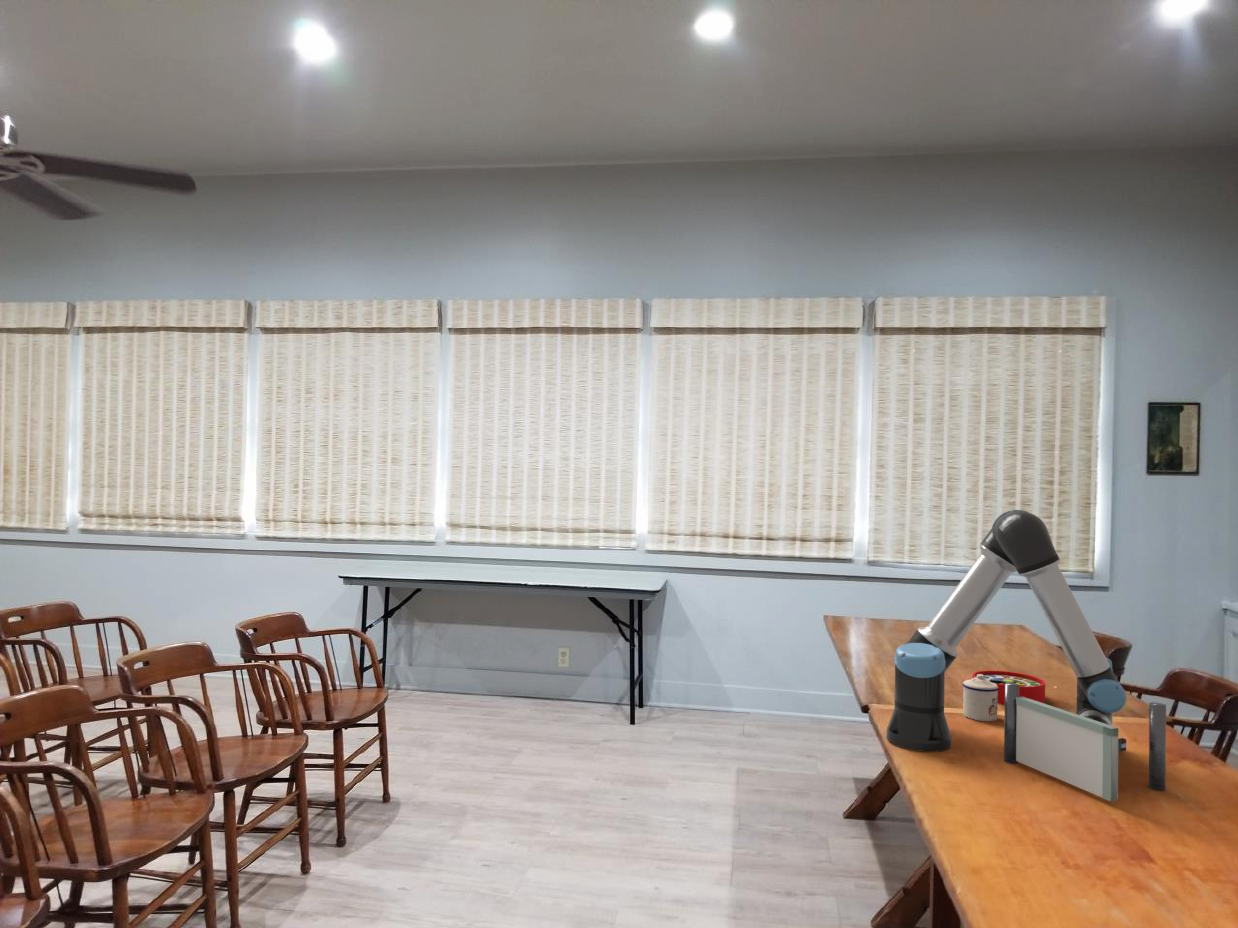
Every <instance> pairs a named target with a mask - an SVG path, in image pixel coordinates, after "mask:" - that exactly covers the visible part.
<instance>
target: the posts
mask: <svg viewBox="0 0 1238 928" xmlns="http://www.w3.org/2000/svg"><path fill="white" fill-rule="evenodd" d="M1016 697H1019V684H1016V683H1010V682H1007V683H1005V704H1004V721H1003V723H1004V724H1003V725H1004V729H1003V732H1004V733H1003V734H1004V735H1003V741H1004V742H1003V761H1004V762H1005V763H1008V764H1012V765H1013V764H1015V765H1017V764H1019V762H1018V761H1016V724H1017V704H1016ZM1148 708H1149V709H1148V710H1149V715H1148V716H1149V718H1148V719H1149V720H1148V722H1149V723H1148V724H1149V725H1148V738H1149V739H1148V788H1149V789H1151V790H1154V791H1159V792H1165V791H1166V783H1167V782H1166V781H1167V780H1166V777H1167V776H1166V775H1167V774H1166V772H1167V771H1166V769H1167V704H1166V703H1162V702H1158V701H1157V702H1156V701H1155V702H1154V701H1152V702H1151V701H1150V702H1149V707H1148Z"/></svg>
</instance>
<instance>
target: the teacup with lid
mask: <svg viewBox="0 0 1238 928" xmlns="http://www.w3.org/2000/svg"><path fill="white" fill-rule="evenodd" d="M962 686H963V690H962V691H963V697H962V698H963V699H962V701H963V706H962V707H963V708H962V714H963V716H964V717H965V718H967V717H968V719H970V720H973V719H974V721H978V722H979V721H980V722H993V721H996V720H997V719H998V703H997V694H998V689H999V688H998V686H997V685H996V684H995V683H992V682H990V681H989V680H987V679H985V678H984V675H982V674H977V677H976V678H972V677H971V679H967V680H964V681H963V682H962Z"/></svg>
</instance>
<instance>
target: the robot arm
mask: <svg viewBox="0 0 1238 928" xmlns="http://www.w3.org/2000/svg"><path fill="white" fill-rule="evenodd" d="M979 547H980V555H978V557H977V558H976V560H975V561H974V562H973V564H972V565H971V567H970V568H969V570H967V572H966V573H965V574H964V575H963V577H962V578H961V580H960V581H959V583H958V584H957V585H956V587H955V588H954V589H953V591H952V592H951V593H950V595H949V596H948V597H947V599H946V600H945V601H944V603H943V604H942V606H941V607H940V608H939V609H938V611H937V612H936V614H935V615H934V617H933V618H932V619H931V620H930V621H929V623H928V624H927V625H926V626H921V627H918V628H917V629H916V630H915V631H914V633H913V634H912V636H911V637H910V638H909V640H908V641H907V642H905V643H904V644H900V645H899V646H898V647H896V649H895V655H894V657H893V660H894V705H893V706H894V708H893V711H892V714H891V716H890V719H889V722H888V724H887V728H886V740H887V741H888V742H889V743H891V744H893V745H894V746H897V747H900V748H904V749H907V750H912V751H917V752H934V753H935V752H944V751H947V750H949V749H951V748H952V735H951V731H950V729H949V725H948V722H947V719H946V715H945V676H946V675H945V674H946V672H947V671H948V669H949V668H950V666H951V665H952V664H953V662H954V661H955V660H956V658H957V657H958V650H957V647H958V645H959V644H960V642H961V641H962V640H963V638H964V637H965V636H966V635H967V633H968V632H969V631H970V630H971V628H972V627H973V625H974V624H975V623H976V621H977V620H978V618H980V616H981V615H982V614H983V612H984V611H985V609H986V608H987V606H988V605H989V604H990V603H991V602H992V601H993V599H994V597H996V595H997V594H998V592H999V591H1000V590H1001V588H1002V586H1003V585H1004V584H1005V583H1006V582H1007V580H1008V579H1009V578H1010V577H1011V575H1012V574H1014V573H1018V575H1019V576H1021V577H1023V578H1025V579H1026V581H1027V583H1028V585H1029V587H1030V588H1031V591H1032V593H1033V595H1034V597H1035V599H1036V600H1037V603H1038V604H1039V606H1040V608H1041V610H1042V612H1043V614H1044V616H1045V618H1046V620H1047V622H1048V624H1049V626H1050V628H1051V630H1052V632H1053V633H1054V635H1055V637H1056V639H1057V641H1058V643H1059V645H1060V647H1061V650H1062V651H1063V653H1064V655H1065V657H1066V658H1067V660H1068V662H1069V664H1070V667H1071V668H1072V671H1073V672H1074V674H1075V676H1076V713H1075V714H1077V715H1080V716H1083V717H1086V718H1089V719H1093V720H1096V721H1099V722H1102V723H1105V724H1108V725H1111V726H1113V714H1114V713H1117V712H1119V711H1121V710H1122V709H1123V708H1124V707H1125V706H1126V704H1127V694H1126V690H1125V689H1124V687H1123V685H1122V684H1120V683H1119V680H1118V678H1117V676H1116V674H1115V673H1114V669H1113V661H1112V660H1111V659H1110V658H1108V657H1106V655H1105V654H1104V651H1103V650H1102V647H1101V646H1100V644H1099V642H1098V640H1097V638H1096V636H1095V634H1094V632H1093V630H1092V628H1091V626H1090V624H1089V623H1088V620H1087V619H1086V617H1085V615H1084V613H1083V611H1082V609H1081V607H1080V605H1079V604H1078V601H1077V599H1076V598H1075V596H1074V593H1073V592H1072V589H1071V588H1070V586H1069V584H1068V582H1067V580H1066V579H1065V577H1064V575H1063V573H1062V571H1061V568H1060V567H1059V564H1060V561H1061V559H1060V557H1059V555H1058V552H1057V550H1056V549H1055V545H1054V544H1053V541H1052V539H1051V535H1050V533H1049V529H1048V528H1047V525H1046V524H1045V522H1044V521H1043V519H1041V518H1040V517H1038V516H1037V515H1035V514H1033V513H1031V512H1029V511H1028V510H1027V511H1026V510H1022V509H1012V510H1008V511H1005V512H1004V513H1001V514H1000V515H999V516H998V517H997V518H996V519H995V520H994V522H993V524H992V526H991V529H990V530H989V531H988V533H987V534H986V535H985V537H984V539H982V541H981V542H980V544H979ZM1126 751H1127V739H1126V738H1124V737H1122V738H1121V737H1120V738H1118V755H1119V754H1120V753H1123V752H1126Z"/></svg>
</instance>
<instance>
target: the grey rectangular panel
mask: <svg viewBox="0 0 1238 928" xmlns="http://www.w3.org/2000/svg"><path fill="white" fill-rule="evenodd" d="M1016 704H1017V724H1016V761H1018V763H1020V764H1023V765H1025V766H1026V767H1027V766H1028V767H1030V768H1033V769H1034V770H1037V771H1040V772H1041V773H1044V774H1046V775H1048V776H1051V777H1053V778H1056V779H1058V780H1061V781H1063V782H1065V783H1068V784H1070V785H1072V786H1074V787H1077V788H1079V789H1081V790H1083V791H1087V792H1088V793H1091V794H1094V795H1096V796H1098V797H1101V798H1102V799H1104V800H1106V801H1109V802H1116V801H1118V799H1119V797H1118V796H1119V754H1118V739H1119V727H1116V726H1115V725H1112V726H1111V725H1108V724H1105V723H1102V722H1099V721H1096V720H1093V719H1089V718H1086V717H1083V716H1080V715H1077V714H1076V713H1073V712H1070V711H1068V710H1064V709H1062V708H1059V707H1055V706H1053V705H1049V704H1047V703H1041V702H1038V701H1035V700H1032V699H1029V698H1026V697H1016Z"/></svg>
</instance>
